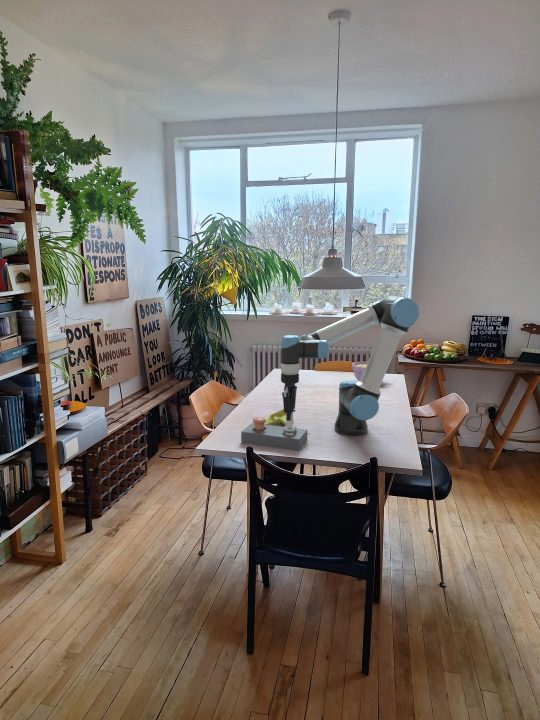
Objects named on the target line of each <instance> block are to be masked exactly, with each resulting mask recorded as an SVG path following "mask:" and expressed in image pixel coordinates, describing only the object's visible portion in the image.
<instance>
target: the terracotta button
mask: <svg viewBox="0 0 540 720" xmlns="http://www.w3.org/2000/svg"><path fill="white" fill-rule="evenodd" d="M266 420H267V418H265V417H263V416H257V417H256V416H255V417H254V418H252V423H254V430H255V431H264V424H265V422H266Z"/></svg>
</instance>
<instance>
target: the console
mask: <svg viewBox="0 0 540 720" xmlns="http://www.w3.org/2000/svg"><path fill="white" fill-rule="evenodd" d="M283 427H284V426H282V425H281V426H273V425H265V423H264V431H255V430H254V423H253V422H252V423H250V424H248V426H247V427H245V428H243V429H242V431H240V437H241V438H240V439H241V444H249V445H256V446H262V447H269V448H276V449H284V450H291V451H297V450H298V451H297V452H300V450H301V449H302V448H303V447H304V446H305V444H306V443H307V442H308V429H304V428H297V427H296V432H295V435H286V434H285V432H284V431H283ZM302 446H303V447H302Z"/></svg>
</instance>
